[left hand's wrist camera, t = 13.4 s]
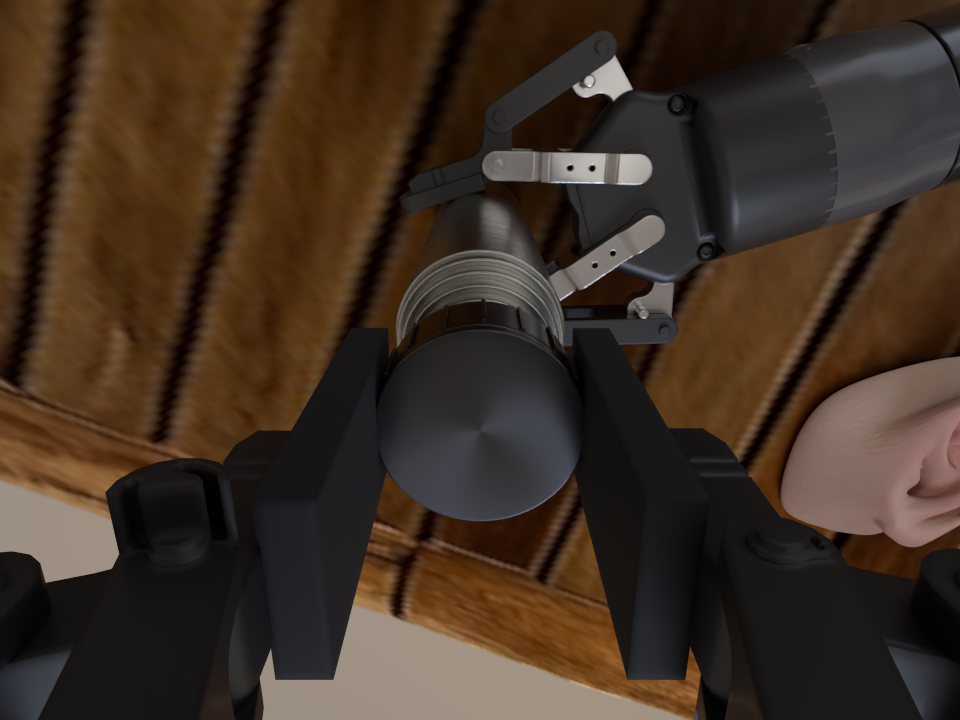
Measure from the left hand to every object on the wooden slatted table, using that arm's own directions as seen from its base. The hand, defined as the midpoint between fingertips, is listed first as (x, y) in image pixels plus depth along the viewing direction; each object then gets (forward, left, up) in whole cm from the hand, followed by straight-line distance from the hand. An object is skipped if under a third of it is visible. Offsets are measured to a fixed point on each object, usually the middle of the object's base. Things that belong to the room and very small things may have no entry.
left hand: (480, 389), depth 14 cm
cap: (0, 0, +2) cm, 2 cm away
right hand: (+2, -2, -17) cm, 17 cm away
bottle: (0, 0, -23) cm, 23 cm away
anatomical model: (+5, +28, -23) cm, 37 cm away
